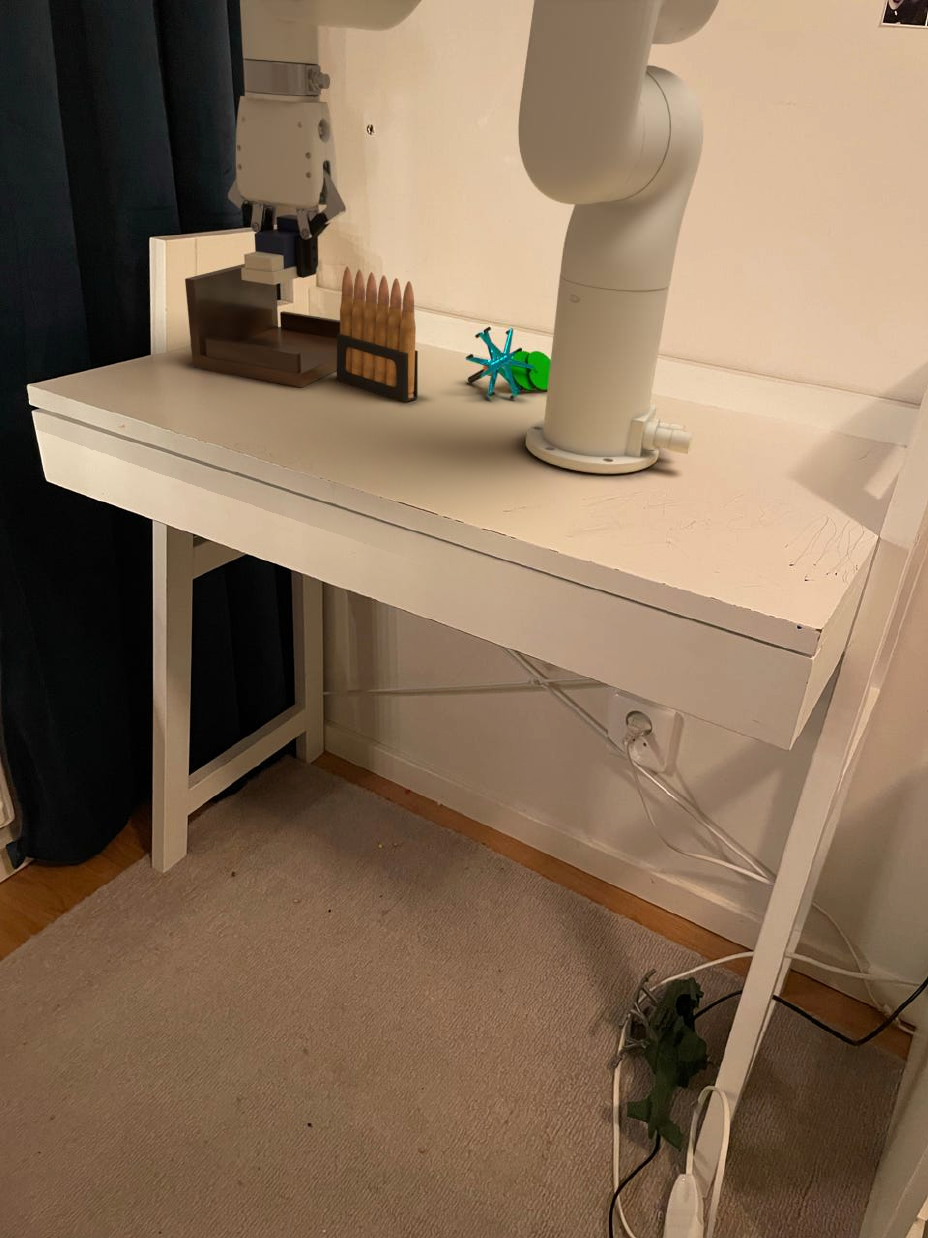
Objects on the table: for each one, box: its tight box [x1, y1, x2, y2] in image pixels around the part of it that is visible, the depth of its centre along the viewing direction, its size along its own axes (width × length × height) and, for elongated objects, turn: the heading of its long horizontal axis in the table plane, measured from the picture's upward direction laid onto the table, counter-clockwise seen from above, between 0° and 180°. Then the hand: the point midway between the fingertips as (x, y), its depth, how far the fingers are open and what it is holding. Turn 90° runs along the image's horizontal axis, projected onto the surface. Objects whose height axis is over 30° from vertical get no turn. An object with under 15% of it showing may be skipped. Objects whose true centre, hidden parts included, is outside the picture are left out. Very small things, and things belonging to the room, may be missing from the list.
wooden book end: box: [184, 263, 340, 388], centre depth 106 cm, size 16×14×10 cm
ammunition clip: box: [335, 266, 419, 403], centre depth 98 cm, size 11×2×12 cm, turn 50°
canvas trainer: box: [241, 213, 322, 285], centre depth 101 cm, size 10×4×6 cm, turn 157°
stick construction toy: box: [465, 326, 551, 400], centre depth 104 cm, size 12×7×8 cm
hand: (288, 270), depth 103 cm, fingers closed on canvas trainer, 4 cm apart
